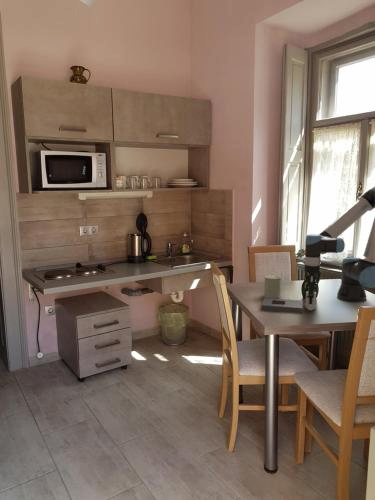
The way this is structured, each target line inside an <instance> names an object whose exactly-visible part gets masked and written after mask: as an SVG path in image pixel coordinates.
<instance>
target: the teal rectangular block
mask: <svg viewBox="0 0 375 500" xmlns="http://www.w3.org/2000/svg"><path fill="white" fill-rule="evenodd" d="M308 295H309V291H308V290H306V292H305V309H308V298H307V296H308ZM316 304H317V292H316V291H315V292H314V302H313V310H316V309H317V305H316Z"/></svg>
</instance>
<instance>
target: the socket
mask: <svg viewBox="0 0 375 500" xmlns="http://www.w3.org/2000/svg"><path fill="white" fill-rule="evenodd" d="M303 302H304V300H302V299H301V300H298V299H287V298H286V299H284V298H277V299H274V298H266V297H264V298H263V301H262V303H261V309H260V310H262V311H273V312H283V313H284V312H285V313H295V314H296V313H298V314H303V307H304V306H303V304H304V303H303Z"/></svg>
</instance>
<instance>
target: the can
mask: <svg viewBox="0 0 375 500" xmlns="http://www.w3.org/2000/svg"><path fill="white" fill-rule="evenodd" d="M281 280H282V277H281V276H280V275H273V274H269V275H265V276H264V290H263V291H264V292H263V297H264V298H274V299H281Z"/></svg>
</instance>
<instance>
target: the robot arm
mask: <svg viewBox="0 0 375 500" xmlns="http://www.w3.org/2000/svg"><path fill="white" fill-rule="evenodd" d="M374 209H375V184H374V185H372V186H371V187H370V188H368V189H367V190H365V191H364V192H363V193H362V194H361V195H360V196H358V197H357V201H356V202H355V203H353V204H352V205H351V206H350V207H349V208H348V209H347V210H345V211H344V212H343V213H341V215H340V216H338V217H337V218H336V219H335V220H334V221H333V222H332V223H330V224H329V225H328V226H327V227H326V228H325V229H324V230H322V231H321V232H320V233H319V234H316V233H315V234H314V233H312V234H311V233H310V234H309V233H308V234H307V235H306V237H305V242H304V243H305V244H304V245H305V249H304V250H305V251H304V254H305V255H304V257H303V260H304V273H307V285H308V290H307V291H309V295H308V296H307V298H308V308H307V311H314V309H313V302H314V292H316V290H315V284H316V278H317V277H316V275H315V274H319V273H320V272H321V271H320V269H321V266H320V265H321V254H338V253H342V252H344V250H345V247H346V244H345V241H344V239H343V238H340V237H339V236H341V235H342V234H343V233H344V232H346V230H348V228H350V227H351V226H352V225H353V224H354V223H356V221H358V220H359V219H360V218H361V217H362V216H363V215H365V214H366V213H367V212H368V211H370V212H371V211H373V210H374ZM372 221H373V222H372V225H371V228H370V232H369V236H368V239H367V242H366V245H365V249H364V253H363V255H362V256H360V257H344V258H342V261H341V277H340V278H341V280H340V286H339V289H338V291H337V293H336V298H337V299H339V300H341V301H344V302H351V301H362V302H365V301H367V293H366V289H365V288H371V289H372V288H375V217H374V219H373V220H372ZM364 300H365V301H364Z"/></svg>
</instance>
